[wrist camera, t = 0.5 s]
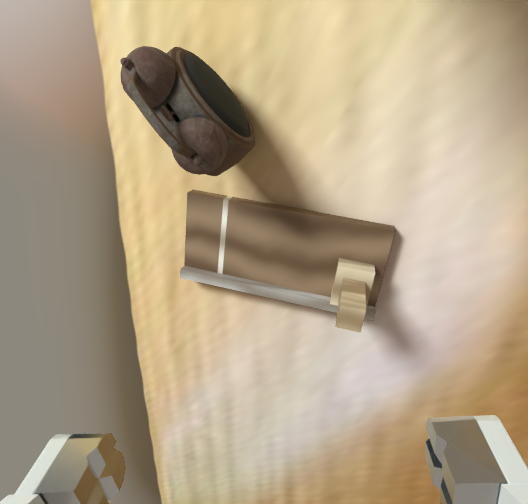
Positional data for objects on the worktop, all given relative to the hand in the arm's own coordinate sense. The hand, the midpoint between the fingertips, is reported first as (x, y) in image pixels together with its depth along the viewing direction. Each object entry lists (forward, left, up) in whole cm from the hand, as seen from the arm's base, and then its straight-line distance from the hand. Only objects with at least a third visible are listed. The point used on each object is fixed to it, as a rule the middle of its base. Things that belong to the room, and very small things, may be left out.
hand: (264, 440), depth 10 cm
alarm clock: (-5, -17, -47) cm, 50 cm away
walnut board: (+14, -6, -47) cm, 49 cm away
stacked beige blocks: (+15, +5, -45) cm, 47 cm away
